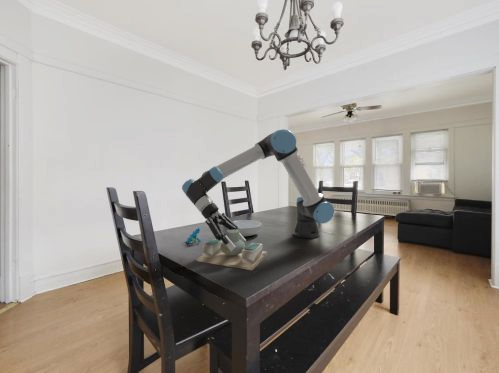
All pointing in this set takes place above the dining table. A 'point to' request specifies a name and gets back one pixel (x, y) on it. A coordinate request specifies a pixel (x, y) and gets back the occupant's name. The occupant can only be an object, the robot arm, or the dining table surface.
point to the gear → (194, 236)
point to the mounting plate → (243, 260)
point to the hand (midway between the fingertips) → (238, 245)
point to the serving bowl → (248, 227)
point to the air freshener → (234, 238)
